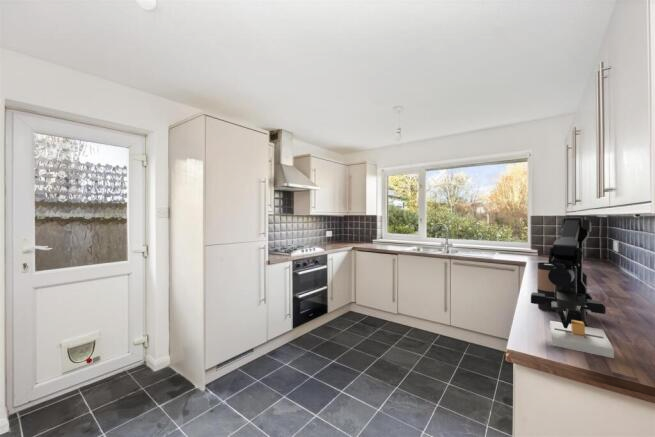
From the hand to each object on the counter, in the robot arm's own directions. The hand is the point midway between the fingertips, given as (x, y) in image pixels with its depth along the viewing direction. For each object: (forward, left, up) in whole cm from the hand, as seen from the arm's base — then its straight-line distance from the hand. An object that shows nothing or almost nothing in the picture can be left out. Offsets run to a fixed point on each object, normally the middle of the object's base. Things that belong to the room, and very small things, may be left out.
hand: (565, 328), depth 95 cm
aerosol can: (-38, +5, -4) cm, 39 cm away
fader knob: (0, +3, -1) cm, 3 cm away
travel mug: (-35, -4, -4) cm, 35 cm away
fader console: (0, +3, -4) cm, 5 cm away
